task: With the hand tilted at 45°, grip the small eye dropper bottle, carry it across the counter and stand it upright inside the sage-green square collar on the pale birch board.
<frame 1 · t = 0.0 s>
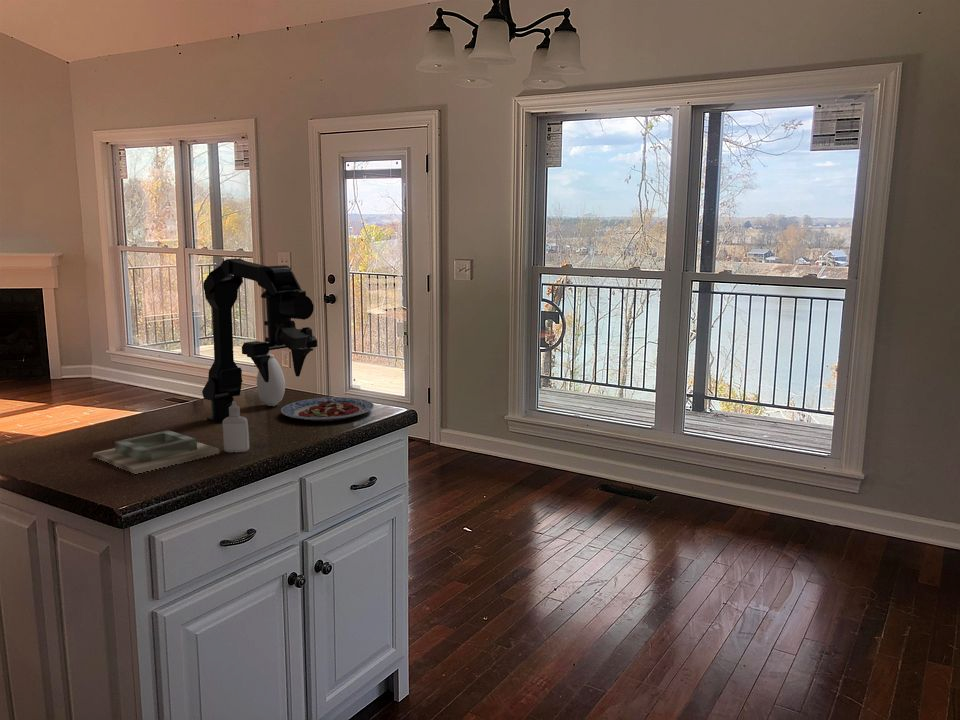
hand: (282, 379, 191), 15 cm above the counter, tool pointing down, fingers open, 9 cm apart
white vase: (272, 406, 227), on the counter
ceramic plate: (328, 415, 217), on the counter
bottle socket: (157, 455, 178), on the counter
eye dropper bottle: (237, 451, 181), on the counter
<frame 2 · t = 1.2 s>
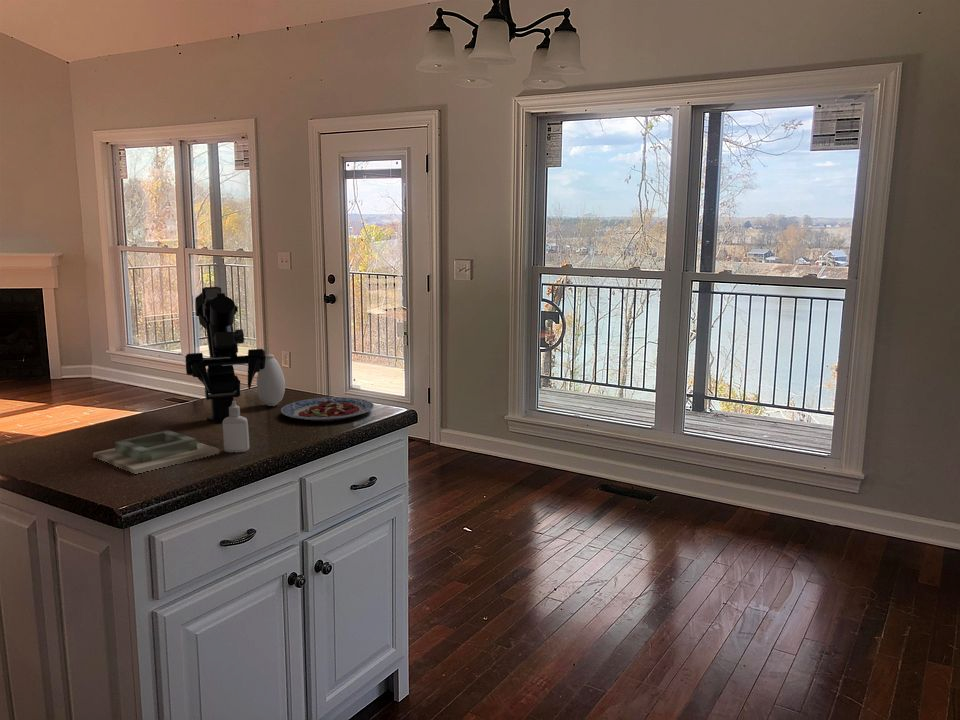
hand: (229, 389, 186), 13 cm above the counter, tool tilted 45°, fingers open, 9 cm apart
nothing on the counter moved.
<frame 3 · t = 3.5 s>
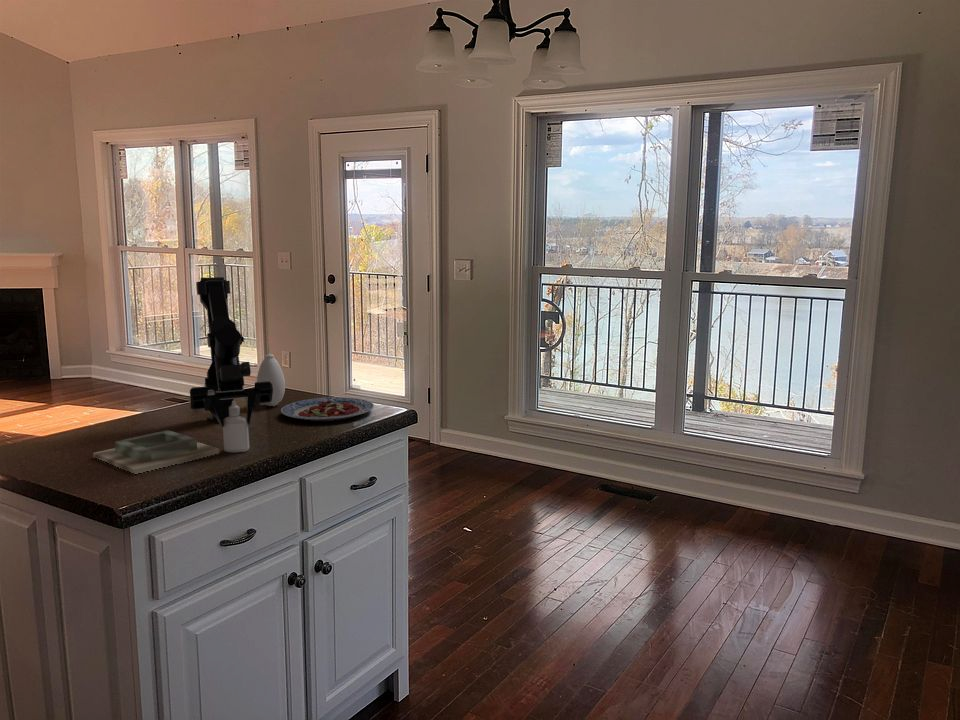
hand: (236, 424, 179), 7 cm above the counter, tool tilted 45°, fingers closed on eye dropper bottle, 5 cm apart
eye dropper bottle: (237, 451, 181), on the counter, touching gripper
everything else where it was.
when the fingers open (9 cm above the counter, at t = 8.0 s): eye dropper bottle drops 1 cm, resting on bottle socket.
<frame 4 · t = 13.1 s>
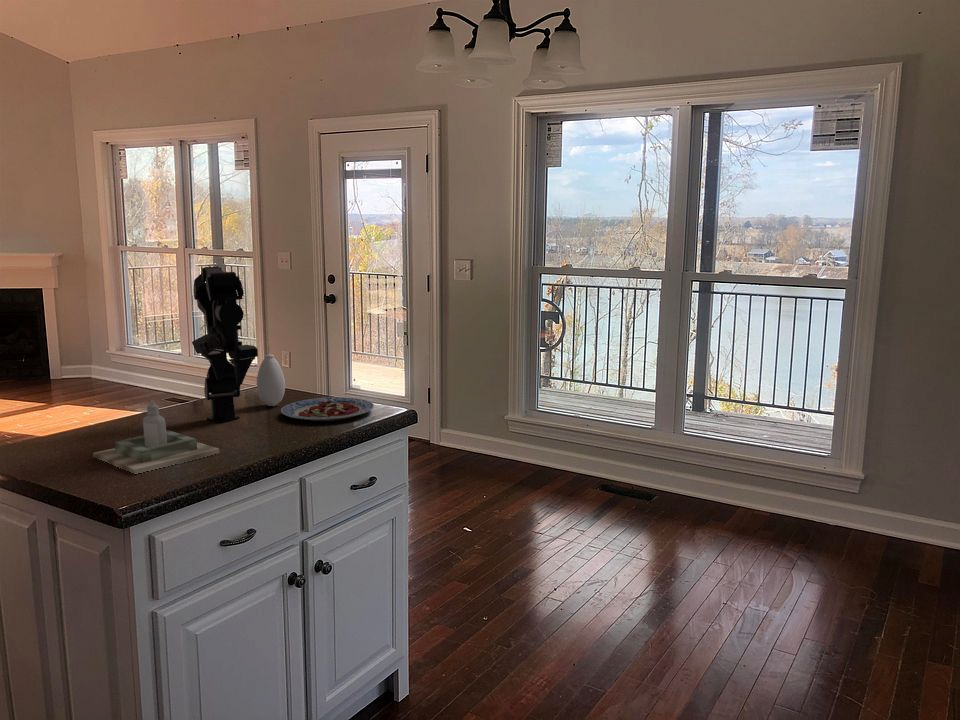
hand: (229, 382, 196), 13 cm above the counter, tool pointing down, fingers open, 9 cm apart
eye dropper bottle: (156, 451, 178), point 1 cm above the counter, touching bottle socket
everything else where it was.
at the end: eye dropper bottle 0.2 cm off-centre on the bottle socket, point 1.0 cm above the bottle socket's base; eye dropper bottle tilted 0°; the gripper is holding nothing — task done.
